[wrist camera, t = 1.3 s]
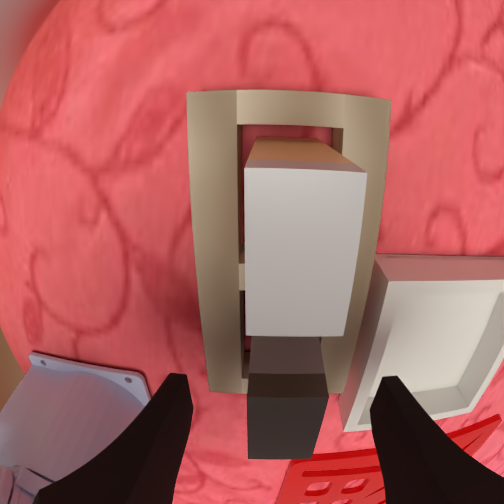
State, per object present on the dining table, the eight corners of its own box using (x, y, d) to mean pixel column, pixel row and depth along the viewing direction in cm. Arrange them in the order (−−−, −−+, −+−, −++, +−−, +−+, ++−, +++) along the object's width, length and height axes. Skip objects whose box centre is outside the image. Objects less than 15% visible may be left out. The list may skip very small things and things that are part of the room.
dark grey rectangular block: (255, 343, 17) (248, 458, 10) (256, 278, 15) (246, 396, 9) (300, 344, 17) (310, 458, 10) (307, 279, 15) (328, 396, 9)
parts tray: (338, 401, 19) (343, 431, 16) (371, 253, 14) (388, 281, 12) (459, 387, 18) (471, 412, 16) (514, 257, 14) (538, 278, 12)
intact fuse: (256, 229, 14) (245, 335, 8) (257, 136, 12) (244, 167, 6) (311, 231, 14) (343, 335, 8) (317, 138, 12) (367, 172, 6)
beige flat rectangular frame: (214, 365, 18) (209, 391, 16) (198, 94, 12) (186, 92, 10) (337, 367, 17) (342, 393, 16) (373, 100, 11) (391, 100, 10)
